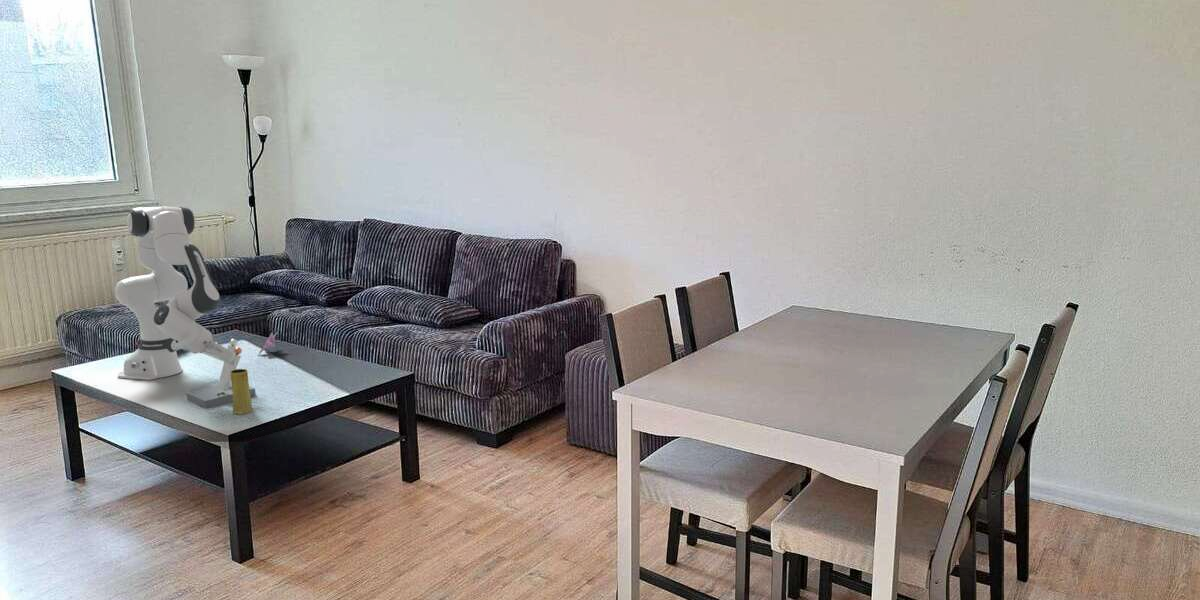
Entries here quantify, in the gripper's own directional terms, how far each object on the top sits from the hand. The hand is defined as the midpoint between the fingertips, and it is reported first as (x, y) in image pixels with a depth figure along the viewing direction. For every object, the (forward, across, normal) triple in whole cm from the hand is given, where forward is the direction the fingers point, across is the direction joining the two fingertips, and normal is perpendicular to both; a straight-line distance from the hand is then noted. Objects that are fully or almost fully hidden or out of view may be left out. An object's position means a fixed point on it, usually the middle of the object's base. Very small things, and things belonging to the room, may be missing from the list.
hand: (229, 361), depth 301 cm
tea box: (+17, +82, +3) cm, 84 cm away
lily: (+37, +46, -18) cm, 62 cm away
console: (+8, +4, +11) cm, 14 cm away
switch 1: (+8, +9, +6) cm, 13 cm away
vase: (+7, -16, +13) cm, 22 cm away
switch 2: (+4, 0, +9) cm, 10 cm away
